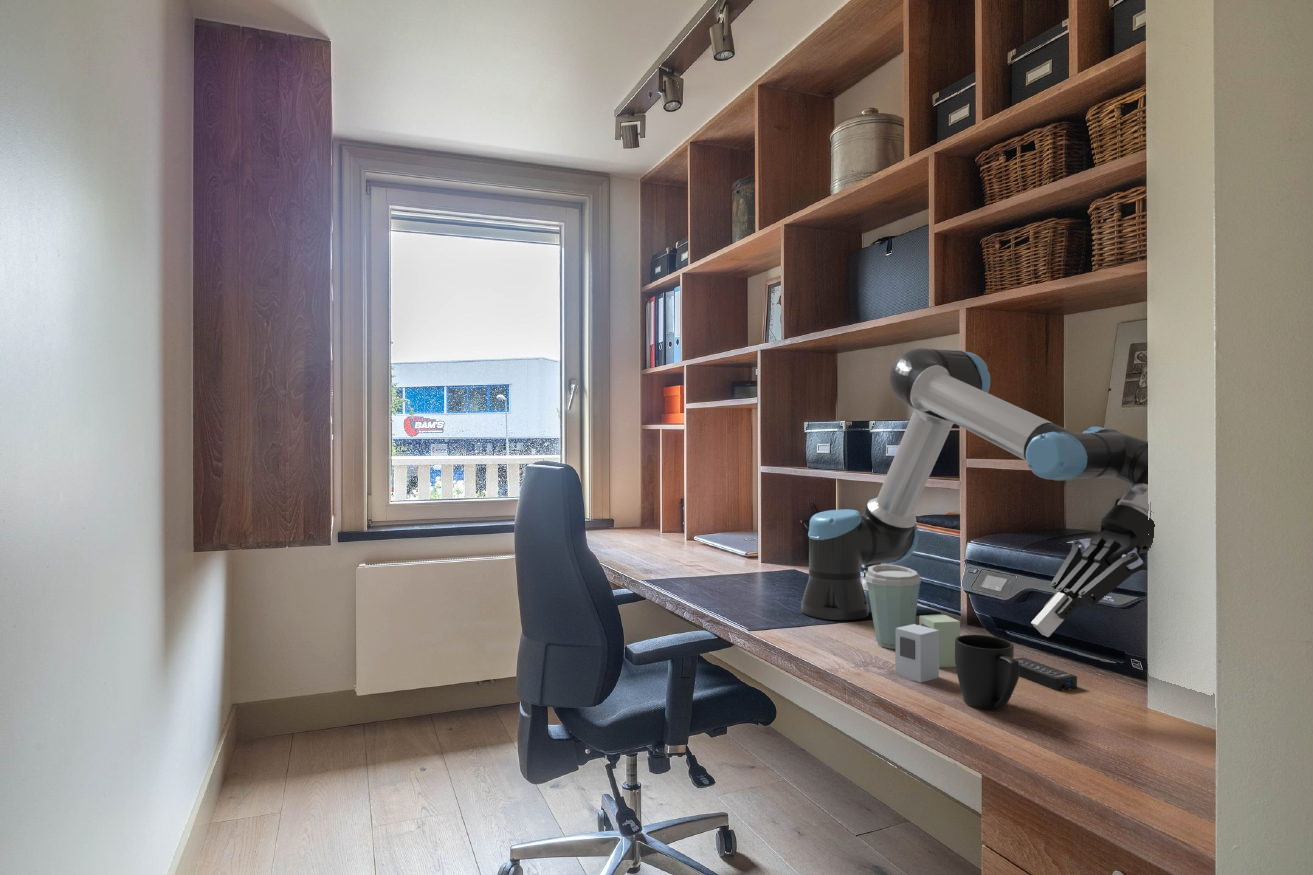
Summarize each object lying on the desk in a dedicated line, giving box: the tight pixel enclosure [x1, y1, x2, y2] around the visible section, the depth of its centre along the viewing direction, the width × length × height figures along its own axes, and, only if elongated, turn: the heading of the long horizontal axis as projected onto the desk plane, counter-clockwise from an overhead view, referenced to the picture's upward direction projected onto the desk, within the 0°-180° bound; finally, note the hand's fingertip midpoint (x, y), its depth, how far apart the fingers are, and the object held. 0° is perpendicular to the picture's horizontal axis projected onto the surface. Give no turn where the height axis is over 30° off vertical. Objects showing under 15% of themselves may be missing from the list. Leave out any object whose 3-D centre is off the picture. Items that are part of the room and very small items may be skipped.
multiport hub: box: [1014, 657, 1078, 692], centre depth 123 cm, size 4×11×2 cm, turn 20°
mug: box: [955, 634, 1020, 711], centre depth 110 cm, size 8×12×10 cm
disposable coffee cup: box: [864, 563, 922, 650], centre depth 143 cm, size 11×11×15 cm
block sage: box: [918, 614, 961, 668], centre depth 132 cm, size 5×5×8 cm
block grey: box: [895, 623, 940, 684], centre depth 125 cm, size 5×5×8 cm
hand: (1039, 629), depth 112 cm, fingers closed
